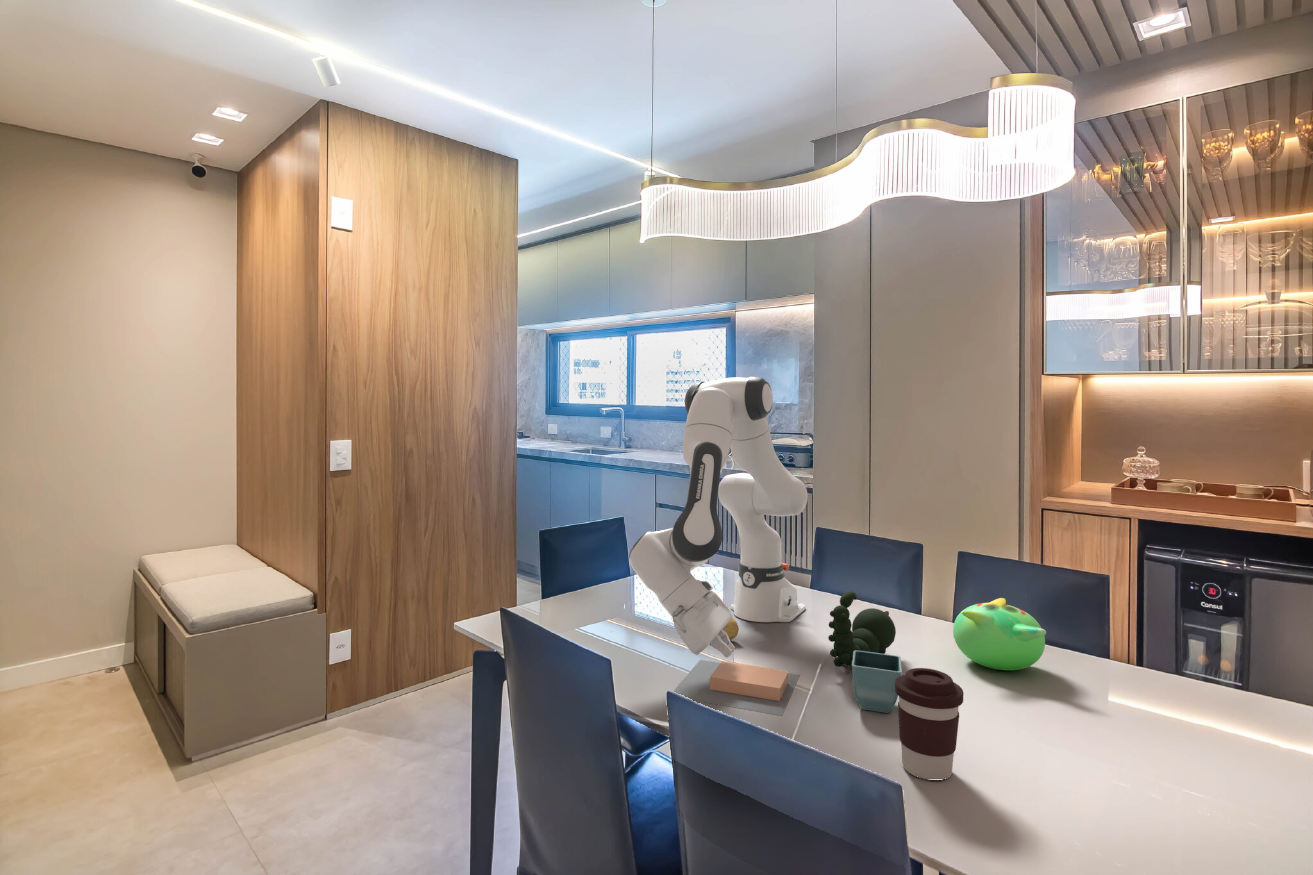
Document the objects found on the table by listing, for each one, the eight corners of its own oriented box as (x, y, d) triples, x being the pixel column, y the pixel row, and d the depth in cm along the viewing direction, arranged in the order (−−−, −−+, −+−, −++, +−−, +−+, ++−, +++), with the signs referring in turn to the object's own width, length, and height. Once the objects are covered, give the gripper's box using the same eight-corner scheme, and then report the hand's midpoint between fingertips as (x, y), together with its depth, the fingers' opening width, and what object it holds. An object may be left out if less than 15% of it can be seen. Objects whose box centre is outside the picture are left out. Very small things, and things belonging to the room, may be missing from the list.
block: (709, 676, 130) (780, 688, 125) (722, 660, 138) (788, 670, 133) (709, 689, 130) (779, 701, 125) (722, 673, 138) (788, 683, 133)
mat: (669, 698, 127) (669, 695, 127) (700, 662, 146) (700, 659, 146) (781, 718, 119) (781, 715, 119) (799, 677, 138) (799, 674, 138)
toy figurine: (859, 692, 135) (908, 650, 153) (857, 604, 133) (907, 571, 151) (818, 679, 141) (869, 640, 159) (816, 594, 139) (868, 564, 157)
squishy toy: (1039, 661, 148) (1041, 597, 147) (1049, 689, 133) (1051, 618, 132) (952, 648, 156) (954, 587, 155) (952, 673, 140) (953, 606, 140)
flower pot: (899, 700, 127) (900, 655, 127) (900, 720, 119) (902, 672, 119) (852, 693, 130) (853, 649, 130) (850, 712, 122) (851, 665, 121)
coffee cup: (882, 754, 107) (884, 664, 106) (940, 751, 108) (942, 662, 107) (911, 788, 97) (913, 690, 97) (974, 786, 98) (977, 688, 97)
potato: (726, 649, 154) (726, 623, 154) (691, 637, 162) (691, 612, 162) (743, 642, 159) (743, 616, 159) (708, 631, 167) (709, 607, 166)
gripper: (679, 604, 125) (728, 662, 122) (710, 579, 144) (753, 628, 141) (658, 624, 127) (705, 682, 124) (691, 597, 146) (733, 646, 143)
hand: (731, 653), depth 133 cm, fingers closed
